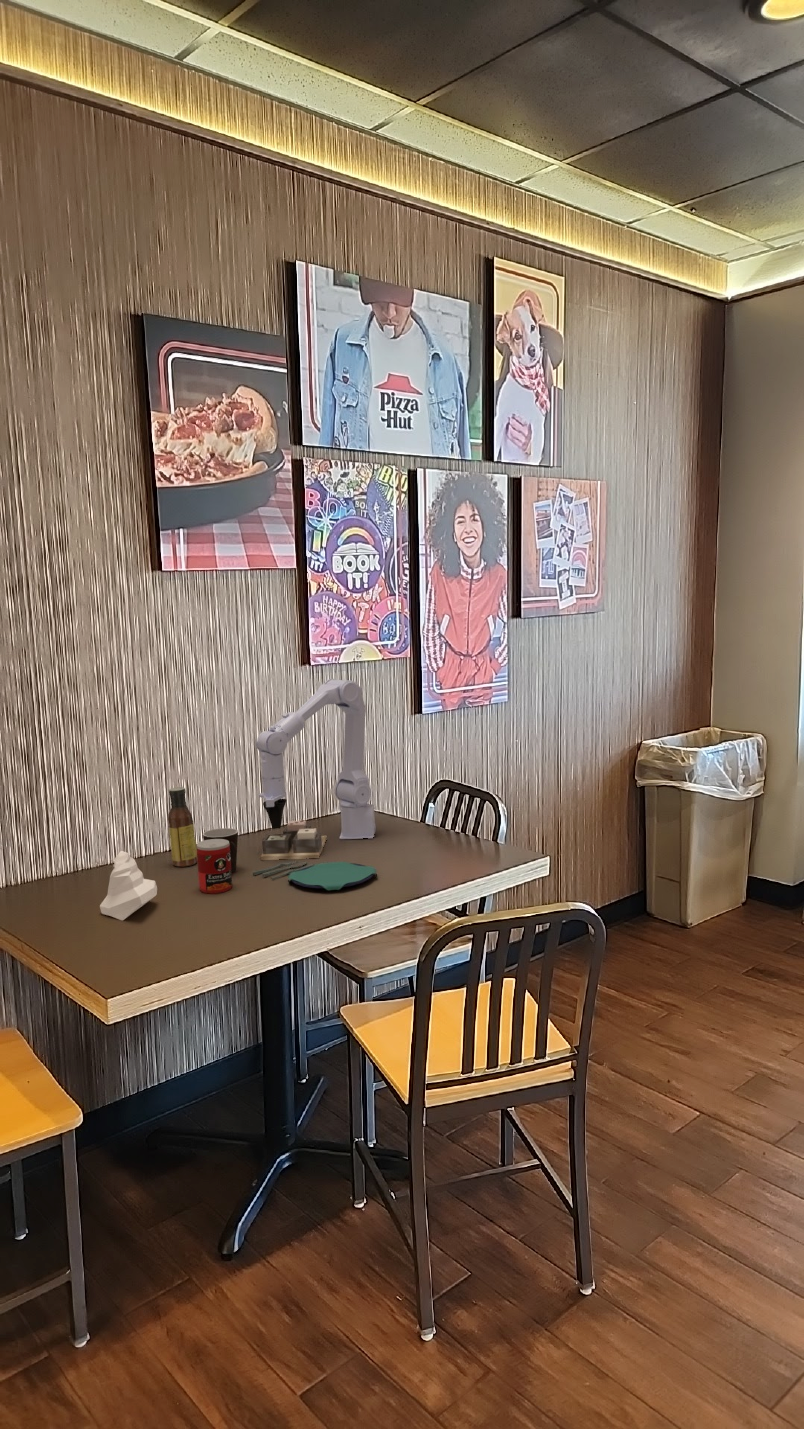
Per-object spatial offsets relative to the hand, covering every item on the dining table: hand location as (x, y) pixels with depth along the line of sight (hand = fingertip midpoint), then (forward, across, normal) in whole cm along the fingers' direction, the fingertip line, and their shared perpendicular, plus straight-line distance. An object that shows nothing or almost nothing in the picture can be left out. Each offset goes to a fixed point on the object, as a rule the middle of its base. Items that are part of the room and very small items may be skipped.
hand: (276, 827), depth 252 cm
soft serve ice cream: (+7, +42, -26) cm, 50 cm away
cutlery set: (+8, +21, +13) cm, 26 cm away
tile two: (+5, 0, 0) cm, 5 cm away
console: (+7, -4, +4) cm, 9 cm away
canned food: (+7, +28, -10) cm, 31 cm away
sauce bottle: (+7, +7, -23) cm, 25 cm away
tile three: (+4, -9, +4) cm, 10 cm away
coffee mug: (+7, +16, -11) cm, 21 cm away
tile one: (+4, 0, +8) cm, 9 cm away
